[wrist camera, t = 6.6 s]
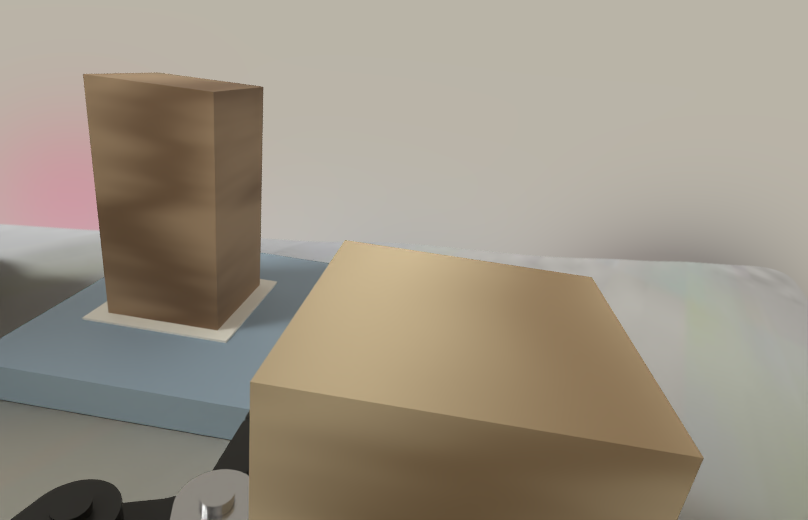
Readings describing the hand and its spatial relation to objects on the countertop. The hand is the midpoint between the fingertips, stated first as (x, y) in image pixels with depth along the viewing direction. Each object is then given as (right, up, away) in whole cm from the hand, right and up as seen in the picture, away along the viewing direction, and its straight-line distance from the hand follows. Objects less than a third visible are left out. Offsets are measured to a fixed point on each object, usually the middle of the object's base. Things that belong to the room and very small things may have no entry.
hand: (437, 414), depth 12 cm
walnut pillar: (-11, +2, +13) cm, 17 cm away
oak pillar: (-1, -7, 0) cm, 7 cm away
